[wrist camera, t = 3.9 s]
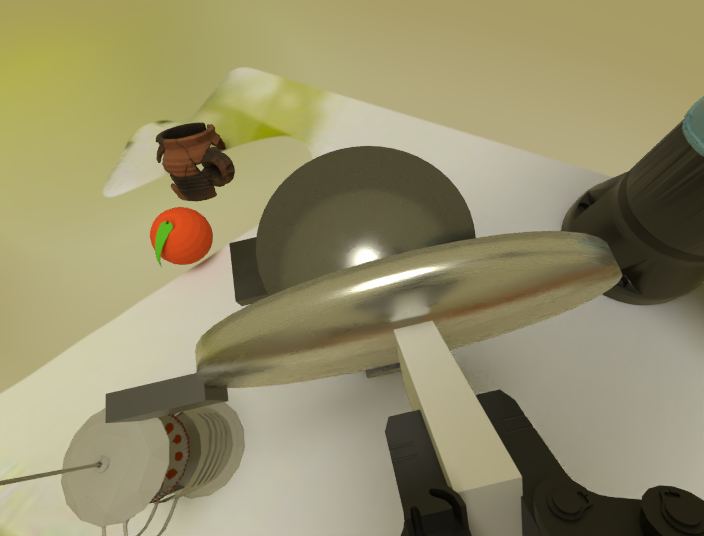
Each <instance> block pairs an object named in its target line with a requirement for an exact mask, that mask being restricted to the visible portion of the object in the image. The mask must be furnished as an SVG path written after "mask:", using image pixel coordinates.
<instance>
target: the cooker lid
mask: <svg viewBox="0 0 704 536" xmlns="http://www.w3.org/2000/svg"><path fill="white" fill-rule="evenodd" d="M621 277H622V273H621V270H620V268H619V266H618V264H617V262H616V260H615V258H614V256H613V254H612V252H611V250H610V248H609V246H608V244H607V243H606V242H605V241H603V240H602V239H601V238H599V237H596V236H592V235H589V234H586V233H577V232H567V231H540V232H524V233H513V234H502V235H494V236H488V237H481V238H475V239H468V240H462V241H456V242H451V243H446V244H441V245H436V246H431V247H426V248H421V249H417V250H412V251H408V252H404V253H400V254H396V255H392V256H388V257H385V258H381V259H377V260H373V261H369V262H366V263H362V264H359V265H356V266H352V267H349V268H346V269H342V270H339V271H336V272H333V273H329V274H326V275H323V276H321V277H318V278H315V279H312V280H309V281H307V282H304V283H301V284H298V285H295V286H293V287H290V288H287V289H285V290H283V291H280V292H278V293H276V294H273V295H271V296H268V297H266V298H264V299H261V300H259V301H257V302H255V303H253V304H251V305H249V306H247V307H245V308H243V309H241V310H239V311H237V312H235V313H233V314H231V315H230V316H228V317H227V318H225V319H224V320H222V321H220V322H219V323H217V324H216V325H214V326H213V327H212V328H211V329H209V330H208V331H207V332H206V333H205V334H204V335H203V336H202V337H201V338H200V340H199V341H198V343H197V344H196V351H195V353H196V368H197V373H195V374H190V375H186V376H182V377H177V378H173V379H169V380H164V381H160V382H156V383H151V384H147V385H143V386H138V387H134V388H130V389H125V390H121V391H117V392H112V393H108V394H106V418H105V423H119V422H134V421H144V420H148V419H152V418H157V417H161V416H165V415H170V414H174V413H178V412H182V411H187V410H191V409H195V408H200V407H204V406H208V405H213V404H217V403H221V402H226V401H228V393H227V388H244V387H260V386H271V385H280V384H288V383H295V382H302V381H309V380H315V379H321V378H327V377H333V376H338V375H344V374H349V373H354V372H359V371H364V370H369V369H373V368H378V367H383V366H387V365H391V364H396V363H400V361H399V356H398V351H397V346H396V341H395V335H394V329H399V328H403V327H407V326H411V325H416V324H420V323H424V322H428V321H433V323H434V324H435V326H436V328H437V330H438V331H439V333H440V335H441V336H442V338H443V340H444V342H445V343H446V345H447V347H448V349H449V350H451V349H455V348H458V347H462V346H466V345H469V344H472V343H476V342H479V341H483V340H486V339H489V338H492V337H496V336H499V335H502V334H505V333H508V332H511V331H514V330H517V329H520V328H523V327H526V326H529V325H532V324H535V323H537V322H540V321H543V320H546V319H548V318H551V317H553V316H556V315H558V314H561V313H563V312H566V311H568V310H571V309H573V308H575V307H577V306H580V305H582V304H584V303H586V302H588V301H590V300H592V299H594V298H596V297H598V296H600V295H601V294H603V293H605V292H606V291H608V290H609V289H611V288H612V287H613V286H615V285H616V284H617V283H618V282H619V281H620V279H621Z"/></svg>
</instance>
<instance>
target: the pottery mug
mask: <svg viewBox="0 0 704 536" xmlns="http://www.w3.org/2000/svg"><path fill="white" fill-rule="evenodd" d="M207 128H208V129H206V126H205V124H204V123H190V124H184V125H180V126H177V127H173V128H170V129H167V130H165V131H163V132H161V133H160V134H158V135H157V137H156V142H158V143H159V145H160V146H159V148H158V151H157V161H158V163H160V162H161V157H162V155H163V154H164V157H163V163H162V165H163V166H164V169H165V171H167V172H168V173H170V176H171V178H172V180H173V181H174V183H175V184H176V185H175V184H171V187H172V189H173V191H174V192H175V193H176V194H177V195H178V197H179V198H180V199H182V200H187V201H202V200H207V199H210V198H213V197H215V196H216V195H217V194H216V192H215V188H214V186H218V187H221V186H224V185H225V184H227V183H229V182H230V181H231V180H232V179H233V177H234V173H235V169H234V165H233V163H232V161H231V159H230V158H229V157H228V156H227V155H226V154H224V153H222V152H221V151H220V150H219V149H225V148H226V147H225V143H224V142H223V141H222V139H221V138H220V135H218V134H216V133H215V127H214V126H213V125H212V124H210V125H207ZM211 144H212V145H214V146H216V147H217V148H216V147H212V148H210V145H211ZM201 163H202V165H203V167H204V169H203V170H202V171H200V170H199V169H198V168H197V166H196V165H198V164H201Z"/></svg>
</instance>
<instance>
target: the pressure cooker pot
mask: <svg viewBox="0 0 704 536" xmlns="http://www.w3.org/2000/svg"><path fill="white" fill-rule="evenodd" d="M475 238H476V237H475V230H474V224H473V220H472V217H471V214H470V211H469V209H468V206H467V204H466V202H465V200H464V198H463V197H462V195H461V194H460V192H459V191H458V189H457V188H456V187H455V185H454V184H453V183H452V182H451V181H450V180H449V179H448V178H447V177H446V176H445V175H444V174H443V173H442V172H441V171H440V170H438V169H437V168H435V167H434V166H433V165H431V164H430V163H428V162H426V161H424V160H423V159H421V158H419V157H417V156H414V155H412V154H409V153H407V152H404V151H400V150H396V149H392V148H386V147H377V146H360V147H350V148H345V149H340V150H336V151H333V152H329V153H327V154H324V155H322V156H319V157H317V158H315V159H313V160H312V161H310V162H308V163H306V164H304V165H303V166H301V167H300V168H299V169H297V170H296V171H294V172H293V173H292V174H291V175H290V176H289V177H288V178H287V179H286V180H285V181H284V182H283V183H282V184H281V185H280V186H279V187H278V188H277V190H276V191H275V193H274V194H273V196H272V197H271V199H270V200H269V202H268V204H267V206H266V208H265V209H264V212H263V215H262V217H261V220H260V223H259V228H258V232H257V237H255V238H251V239H246V240H242V241H238V242H233V243H230V252H231V261H232V271H233V280H234V290H235V299H236V302H237V303H238V304H240V305H241V306H244V305H249V304H253V303H255V302H257V301H259V300H261V299H264V298H266V297H268V296H271V295H273V294H276V293H278V292H280V291H283V290H285V289H287V288H290V287H293V286H295V285H298V284H301V283H304V282H307V281H309V280H312V279H315V278H318V277H321V276H323V275H326V274H329V273H333V272H336V271H339V270H342V269H346V268H349V267H352V266H356V265H359V264H362V263H366V262H369V261H373V260H377V259H381V258H385V257H388V256H392V255H396V254H400V253H404V252H408V251H412V250H417V249H421V248H426V247H431V246H436V245H441V244H446V243H451V242H456V241H462V240H468V239H475ZM397 371H401V367H400V363H396V364H391V365H387V366H383V367H378V368H373V369H369V370H366V374H367V377H368V378H372V377H376V376H380V375H385V374H389V373H393V372H397Z"/></svg>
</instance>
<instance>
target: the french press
mask: <svg viewBox="0 0 704 536" xmlns="http://www.w3.org/2000/svg"><path fill="white" fill-rule="evenodd" d="M105 418H106V408H105V409H103V410H101V411H100V412H98V413H96V414H95V415H93V416H91V417H90V418H89V419H88V420H87V421H86V422H85V424H84V425H83V426H82V427H81V428H80V429H79V430H78V432H77V433H76V434H75V435H74V437H73V439H72V441H71V443H70V446H69V448H68V450H67V452H66V454H65V457H64V461H63V470H58V471H52V472H47V473H41V474H36V475H30V476H25V477H20V478H14V479H9V480H3V481H0V485H5V484H11V483H16V482H21V481H26V480H31V479H36V478H41V477H46V476H52V475H57V474H62V479H61V484H62V488H63V491H64V495H65V499H66V503H67V505H68V506H69V507H70V508H71V510H72V511H73V512H74V513H75V514H76V515H77V516H78V518H79V519H80V520H82V521H85V522H88V523H91V524H94V525H97V526H100V527H101V526H102V536H106V526H107V525H113V524H118V523H123V522H124V523H123V532H124V536H128V534H127V523H128V521H129V519H130V518H132V517H134V516H135V515H136V514H138V513H139V512H141V511H142V510H144V509H145V508H146V506H147V505H148V504H149V503H154V502H156V503H154V504H155V506H154V508H153V511H152V513H151V515H150V517H149V519H148V521H147V523H146V525H145V527H144V528H143V529H142V530H141V531H140V533H139V534H138V535H137V536H140V535H141V534H142V533H143V532H144V531H145V529H146V528H147V527H148V525H149V523H150V521H151V520H152V518H153V516H154V514H155V511H156V509H157V506H158V504H159V503H162V502H166V501H169V500H171V499H174V498H175V500H174V503H173V506H172V508H171V511H170V513H169V516H168V518H167V520H166V522H165V524H164V526H163V528H162V530H161V531H160V533H159V534H158V535H157V536H160V535H161V534H162V533H163V532H164V530H165V529H166V527H167V525H168V523H169V521H170V519H171V517H172V514H173V512H174V509H175V506H176V503H177V501H178V499H179V498H180V497H182V496H185V497H188V498H197V497H203V496H208V495H211V494H212V493H214V492H215V491H217V490H218V489H220V488H221V487H223V486H224V485H226V484H227V483H228V481H229V480H230V478H231V477H232V476H233V474H234V473H235V471H236V470H237V469H238V467H239V464H240V461H241V457H242V454H243V450H244V432H243V426H242V424H241V422H240V420H239V418H238V416H237V414H236V412H235V411H234V410H233V409H232V408H230V407H229V406H228V405H227V404H226V403H224V402H221V403H217V404H213V405H208V406H204V407H200V408H195V409H191V410H187V411H182V412H178V413H174V414H170V415H165V416H161V417H157V418H152V419H148V420H144V421H134V422H119V423H105ZM173 492H174V493H175V494H176V495H174V496H171V497H169V498H166V499H164V500H162V501H160V499H161V498H163V497H164V496H166V495H168V494H171V493H173Z"/></svg>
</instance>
